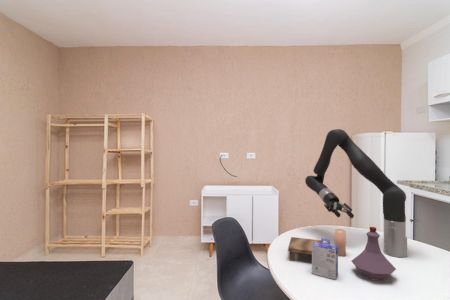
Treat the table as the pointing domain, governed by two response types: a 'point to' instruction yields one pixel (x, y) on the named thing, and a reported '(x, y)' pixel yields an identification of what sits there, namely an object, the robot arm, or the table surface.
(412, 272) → the table surface
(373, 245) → the flask
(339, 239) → the peach cylinder
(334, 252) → the ink cartridge box
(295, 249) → the walnut stand
